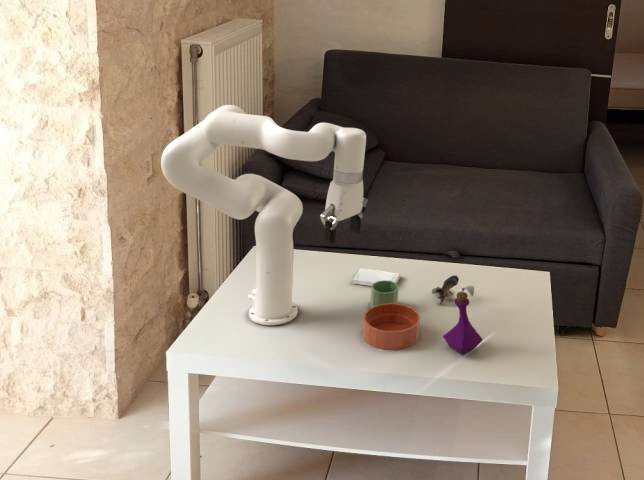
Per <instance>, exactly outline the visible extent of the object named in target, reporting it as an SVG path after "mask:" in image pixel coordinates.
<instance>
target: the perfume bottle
mask: <svg viewBox="0 0 644 480" xmlns="http://www.w3.org/2000/svg"><path fill="white" fill-rule="evenodd" d="M465 291H467V292H468V293H469V295H470V296H471V297H474V295H475V286H474V285H466V286H464V287H462V288H461V291H459V292H457V293H456V298H455V299H454V300H453V303H454V305H455V306H457V308H458V311H459V318H458V321H457V323H456V325H454V326H453V327H452V328H451V329H450V330H449V331H447V332H446V333H444V334H443V336H442V338H443V340H444V341H445V342H446V343H447V345H448V346H449V348H451V349H452V350H453V351H454V352H456V353H458V354H459V355H461V356H462V355H463V356H464V355H466V354H468V353H470V352H472V351H474V350H475V349H476V348H477V347H478V346H479V345H480V344H481V343H482V342H483V341H484V340H483V338H482V336H481V335H480V334H479V333H478V331H477V330H476V329H475V327H474V326H473V325H472V324H471V321H470V320H469V315H468V312H467V307H468V306H469V305H470V299H469V298H468V296H469V295H468V293H467V292H465Z"/></svg>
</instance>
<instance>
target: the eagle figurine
mask: <svg viewBox="0 0 644 480" xmlns="http://www.w3.org/2000/svg"><path fill="white" fill-rule="evenodd" d="M459 280H460V278H459V277H458V275H451V276H449V277H447V278H446V279H445V280H444V281H443V284H442V286H441V287H440V286H436V287H434V288H432V289H431V294H436V293H437V294H438V295H439V296H437V297H436V298H437V299H438V300H440V301H439V306H440V305H442V304H443V303H444V302H445V300H446V299H447V298H448V299H450V300H451V301H453V299H452V296H453V295H454V292H452V291H451V290H452V289H453V288H454V287H456V286H457V285H458V283H459Z"/></svg>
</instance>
